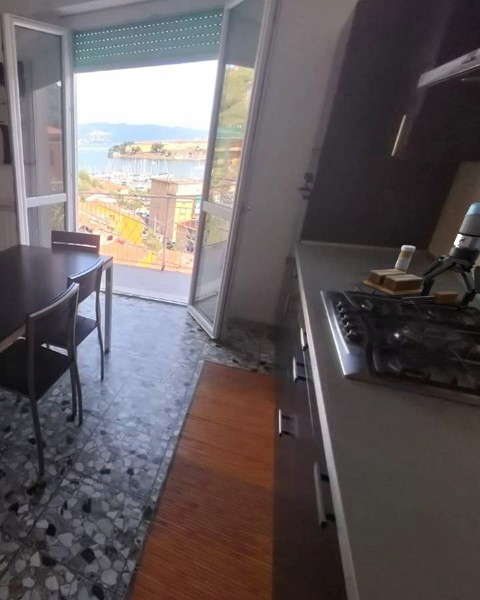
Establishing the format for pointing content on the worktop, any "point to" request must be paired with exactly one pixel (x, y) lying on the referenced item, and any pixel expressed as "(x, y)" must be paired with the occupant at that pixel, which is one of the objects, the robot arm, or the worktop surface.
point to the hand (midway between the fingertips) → (442, 301)
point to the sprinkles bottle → (404, 257)
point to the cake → (394, 282)
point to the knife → (434, 298)
